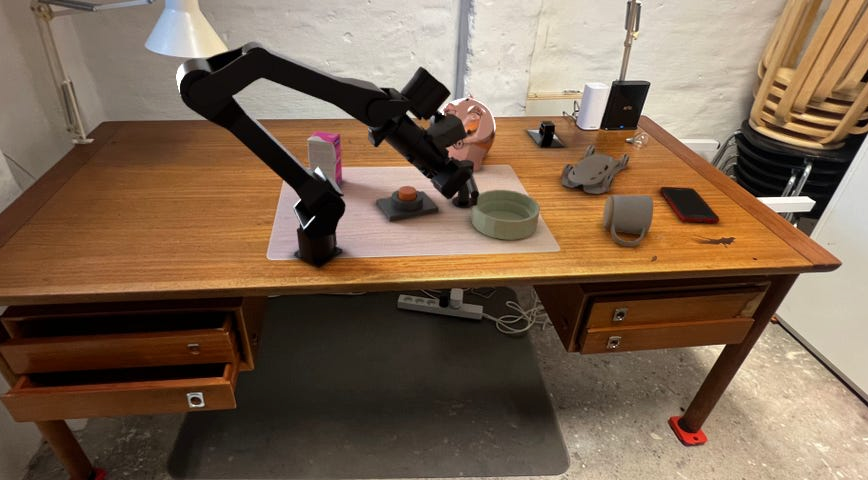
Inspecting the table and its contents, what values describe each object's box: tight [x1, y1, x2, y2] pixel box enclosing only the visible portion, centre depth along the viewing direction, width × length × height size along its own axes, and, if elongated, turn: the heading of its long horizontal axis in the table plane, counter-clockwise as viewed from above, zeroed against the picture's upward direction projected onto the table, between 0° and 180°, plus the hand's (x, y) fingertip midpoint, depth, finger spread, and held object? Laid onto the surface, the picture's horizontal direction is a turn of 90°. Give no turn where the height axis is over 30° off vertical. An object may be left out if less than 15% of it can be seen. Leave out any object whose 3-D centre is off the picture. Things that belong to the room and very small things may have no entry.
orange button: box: [398, 185, 417, 201], centre depth 106 cm, size 4×4×2 cm
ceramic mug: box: [602, 194, 654, 248], centre depth 100 cm, size 11×8×8 cm
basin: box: [470, 189, 541, 241], centre depth 103 cm, size 13×13×4 cm
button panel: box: [375, 189, 439, 222], centre depth 107 cm, size 11×8×3 cm
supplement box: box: [306, 130, 343, 187], centre depth 113 cm, size 6×6×12 cm
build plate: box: [526, 120, 566, 149], centre depth 141 cm, size 12×7×5 cm, turn 7°
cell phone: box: [659, 186, 720, 224], centre depth 112 cm, size 8×15×1 cm, turn 177°
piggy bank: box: [439, 93, 497, 172], centre depth 124 cm, size 15×18×16 cm
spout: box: [460, 160, 480, 206], centre depth 102 cm, size 14×3×3 cm, turn 4°
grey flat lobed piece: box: [561, 145, 630, 195], centre depth 122 cm, size 11×24×5 cm, turn 146°
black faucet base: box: [451, 183, 472, 209], centre depth 109 cm, size 5×5×6 cm
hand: (460, 186), depth 98 cm, fingers closed
